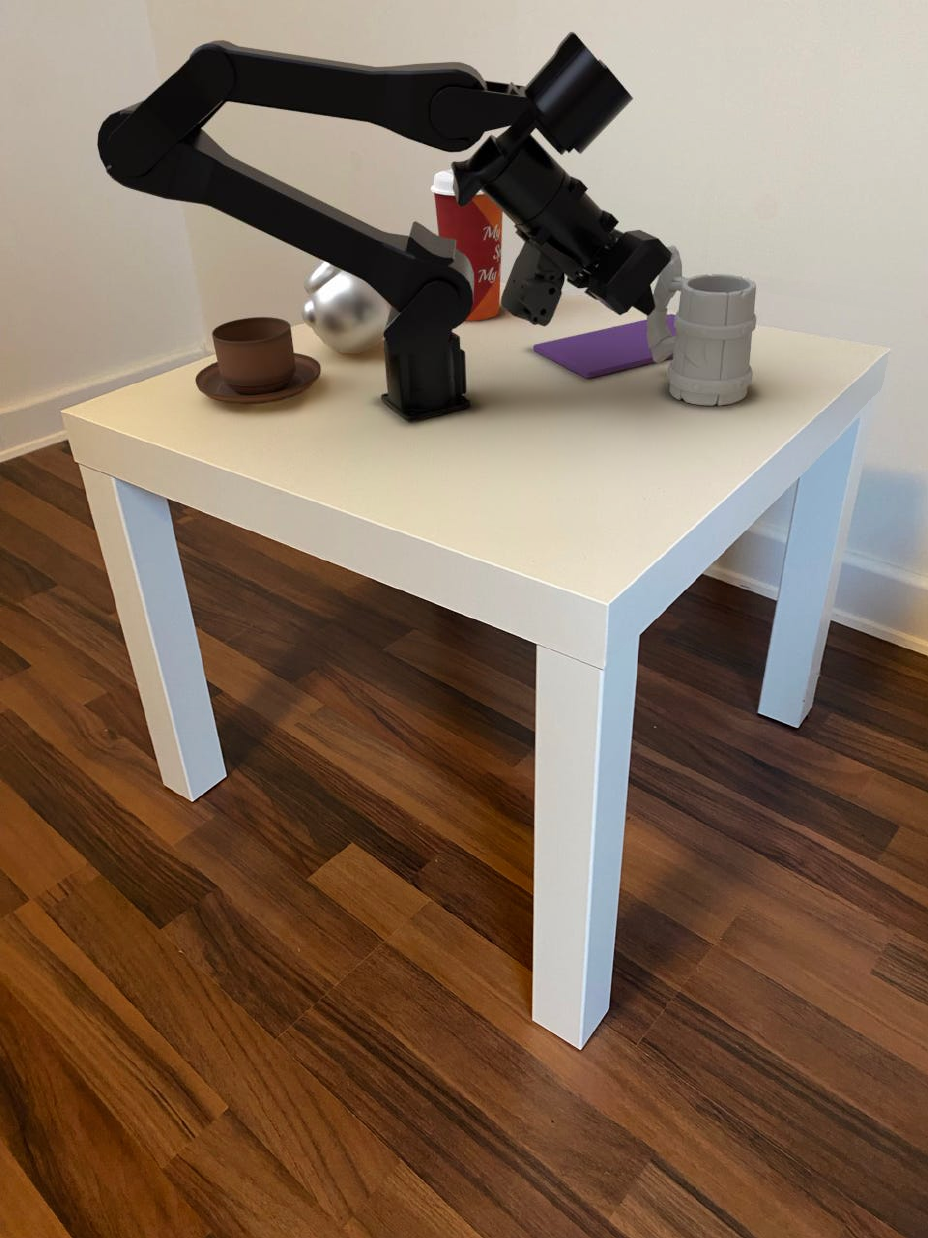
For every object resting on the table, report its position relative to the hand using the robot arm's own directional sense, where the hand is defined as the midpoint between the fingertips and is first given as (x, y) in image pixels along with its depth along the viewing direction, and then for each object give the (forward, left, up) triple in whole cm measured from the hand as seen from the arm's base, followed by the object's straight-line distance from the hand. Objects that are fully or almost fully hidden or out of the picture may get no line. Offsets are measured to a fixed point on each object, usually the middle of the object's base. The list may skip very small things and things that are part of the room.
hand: (650, 310), depth 90 cm
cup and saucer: (-32, +19, -7) cm, 38 cm away
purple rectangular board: (+5, +9, -7) cm, 12 cm away
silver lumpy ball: (-20, +25, -7) cm, 33 cm away
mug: (+3, -3, -7) cm, 8 cm away
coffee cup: (-3, +29, -7) cm, 30 cm away
